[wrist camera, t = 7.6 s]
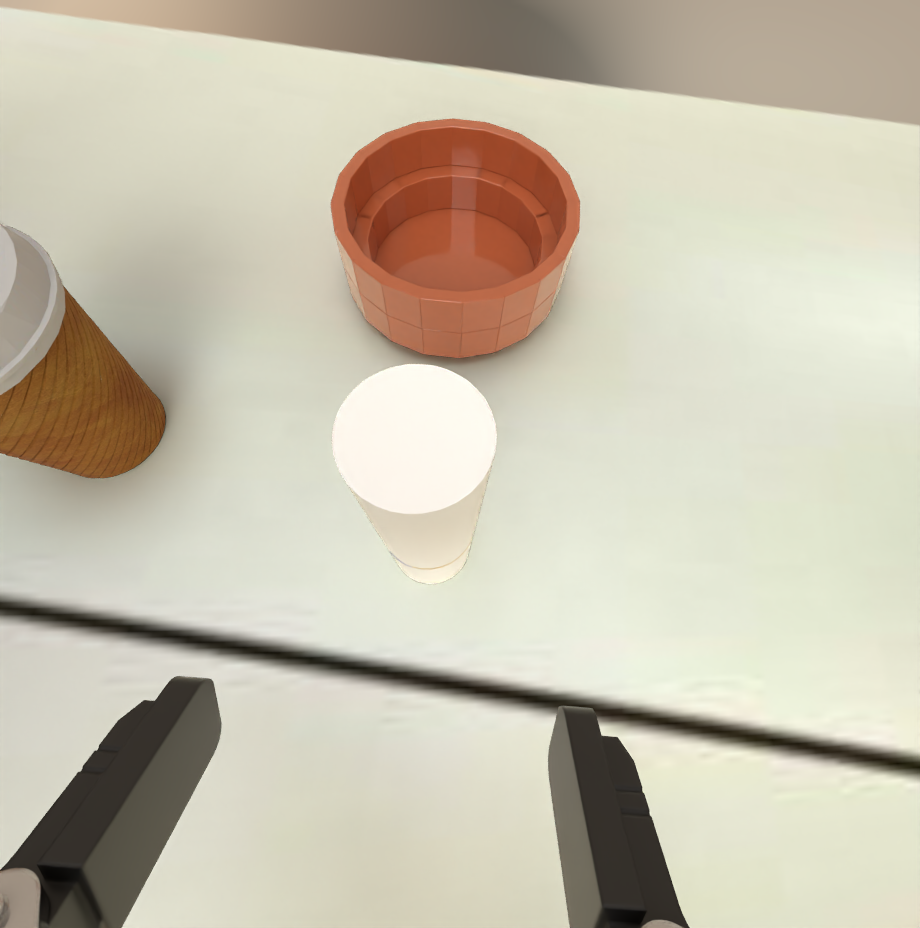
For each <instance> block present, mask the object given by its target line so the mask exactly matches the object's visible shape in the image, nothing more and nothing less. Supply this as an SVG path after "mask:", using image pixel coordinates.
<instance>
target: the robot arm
mask: <svg viewBox="0 0 920 928" xmlns="http://www.w3.org/2000/svg"><path fill="white" fill-rule="evenodd" d="M220 734H221V718H220V713H219V708H218V703H217V698H216V693H215V687H214V683H213V681H212V680H211V679H208V678H196V677H184V676H176V677H174V678H173V679H171V680H170V681H169V683H168V684H167V685H166V686H165V688H164V689H163V691H162V692H161V693H160V695H159V696H158V697H157V699H156V700H155V701H148V700H144V701H142V702H141V703H140V704H139V705H137V706H136V707H135V708H134V709H132V710H131V711H130V712H129V713H127V714H126V715H125V716H123V717H122V718H121V719H120V720H118V722H117V723H116V724H115V725H114V727H113V728H112V729H111V731H110V732H109V733H108V735H107V736H106V737H105V738H104V740H103V741H102V742H101V744H100V745H99V748H98V750H97V751H94V753H93V754H92V755H91V756H90V758H89V759H88V760H87V762H86V763H85V764H84V765H83V769H82V771H81V772H78V773H77V774H76V776H75V777H74V778H73V780H72V781H71V782H70V783H69V785H68V786H67V787H66V789H65V790H64V791H63V792H62V794H61V795H60V796H59V798H58V799H57V800H56V802H55V803H54V804H53V805H52V807H51V808H50V809H49V811H48V812H47V813H46V814H45V816H44V817H43V818H42V820H41V821H40V822H39V823H38V825H37V826H36V827H35V829H34V830H33V831H32V832H31V834H30V835H29V836H28V838H27V839H26V840H25V841H24V843H23V844H22V845H21V847H20V848H19V849H18V850H17V852H16V853H15V854H14V855H13V857H12V858H11V859H10V860H9V861H8V863H7V864H6V865H5V866H4V867H3V868H2V869H1V870H0V928H122V926H123V924H124V922H125V920H126V918H127V916H128V914H129V913H130V911H131V909H132V907H133V905H134V903H135V901H136V899H137V897H138V896H139V894H140V892H141V890H142V888H143V886H144V884H145V882H146V881H147V879H148V877H149V875H150V873H151V871H152V869H153V867H154V865H155V864H156V862H157V860H158V858H159V856H160V854H161V852H162V850H163V849H164V847H165V845H166V843H167V841H168V839H169V837H170V835H171V833H172V832H173V830H174V828H175V826H176V824H177V822H178V820H179V818H180V816H181V815H182V813H183V811H184V809H185V807H186V805H187V803H188V801H189V800H190V798H191V796H192V794H193V792H194V790H195V788H196V786H197V784H198V783H199V781H200V779H201V777H202V775H203V773H204V771H205V769H206V768H207V766H208V764H209V762H210V760H211V758H212V756H213V754H214V752H215V750H216V748H217V745H218V742H219V738H220ZM548 771H549V781H550V789H551V796H552V803H553V810H554V817H555V824H556V831H557V839H558V846H559V853H560V860H561V867H562V874H563V881H564V889H565V896H566V903H567V910H568V917H569V924H570V928H689V926H688V924H687V922H686V920H685V918H684V916H683V914H682V911H681V909H680V906H679V903H678V900H677V897H676V893H675V890H674V887H673V884H672V881H671V878H670V874H669V871H668V868H667V865H666V862H665V858H664V855H663V852H662V849H661V846H660V843H659V839H658V836H657V833H656V830H655V827H654V823H653V820H652V817H651V816H650V814H649V807H648V804H647V801H646V798H645V795H644V793H643V792H642V785H641V782H640V779H639V776H638V772H637V769H636V766H635V763H634V760H633V759H632V757H631V756H630V755H629V753H628V752H627V750H626V749H625V747H624V746H623V744H622V743H621V742H620V740H619V739H618V737H609V736H601V732H600V729H599V725H598V721H597V717H596V714H595V712H594V710H593V709H592V708H582V707H569V706H560V707H559V708H558V712H557V716H556V721H555V725H554V729H553V734H552V738H551V742H550V747H549V755H548Z"/></svg>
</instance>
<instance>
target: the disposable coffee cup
mask: <svg viewBox="0 0 920 928" xmlns="http://www.w3.org/2000/svg"><path fill="white" fill-rule="evenodd" d="M165 417H166V416H165V411H164V407H163V405H162V403H161V401H160V400H159V399H158V397H157V396H156V395H155V394H154V393H153V392H152V391H151V390H150V388H149V387H148V386H147V385H146V384H145V383H144V381H143V380H142V379H141V378H140V376H139V375H138V374H137V373H136V372H135V371H134V369H133V368H132V367H131V366H130V365H129V363H128V362H127V361H126V359H125V358H124V357H123V356H122V355H121V354H120V353H119V351H118V350H117V349H116V348H115V347H114V346H113V344H112V343H111V342H110V341H109V340H108V338H107V337H106V336H105V335H104V334H103V332H102V331H101V330H100V329H99V328H98V326H97V325H96V324H95V323H94V322H93V320H92V319H91V318H90V317H89V316H88V315H87V314H86V312H85V311H84V310H83V309H82V307H81V306H80V305H79V304H78V303H77V302H76V300H75V299H74V298H73V297H72V296H71V295H70V293H69V292H68V291H67V290H66V288H65V287H64V286H63V285H62V281H61V279H60V277H59V274H58V272H57V270H56V268H55V266H54V264H53V262H52V260H51V258H50V256H49V254H48V253H47V252H46V251H45V250H44V248H43V247H42V246H41V245H40V244H38V243H37V242H36V241H35V240H34V239H32V238H31V237H30V236H29V235H27V234H25V233H23V232H21V231H19V230H17V229H15V228H13V227H9V226H5V225H2V224H0V453H2V454H6V455H8V456H12V457H18V458H19V459H22V460H28V461H29V462H34V463H38V464H40V465H45V466H49V467H51V468H56V469H60V470H63V471H67V472H70V473H73V474H77V475H80V476H83V477H88V478H107V477H113V476H116V475H119V474H122V473H125V472H127V471H129V470H131V469H133V468H134V467H136V466H137V465H139V464H140V463H141V462H143V461H144V460H145V459H146V458H147V457H148V456H149V455H150V454H151V453H152V452H153V451H154V449H155V448H156V447H157V445H158V444H159V441H160V439H161V437H162V435H163V432H164V427H165Z"/></svg>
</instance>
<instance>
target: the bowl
mask: <svg viewBox="0 0 920 928" xmlns="http://www.w3.org/2000/svg"><path fill="white" fill-rule="evenodd" d="M331 212H332V218H333V225H334V232H335V236H336V240H337V243H338V247H339V251H340V254H341V258H342V262H343V265H344V269H345V273H346V276H347V280H348V284H349V288H350V291H351V295H352V297H353V299H354V300H355V302H356V304H357V305H358V307H359V309H360V310H361V312H362V314H363V315H364V317H365V319H366V320H367V321H368V322H369V323H370V324H371V325H372V326H374V327H375V328H376V329H377V330H379V331H380V332H381V333H382V334H383V335H385V336H386V337H387V338H388V339H390V340H391V341H392V342H395V343H397V344H400V345H402V346H405V347H407V348H409V349H412V350H414V351H417V352H419V353H422V354H426V355H435V356H444V357H453V358H464V357H470V356H477V355H483V354H489V353H494V352H497V351H499V350H501V349H504V348H506V347H508V346H510V345H512V344H514V343H516V342H518V341H520V340H522V339H524V338H526V337H527V336H528V335H529V334H530V333H531V332H532V331H533V330H534V329H535V328H536V327H538V326H539V325H540V324H541V323H542V322H543V321H544V320H545V319H546V318H547V316H548V315H549V313H550V311H551V308H552V306H553V304H554V302H555V300H556V298H557V296H558V293H559V291H560V288H561V285H562V282H563V279H564V275H565V272H566V269H567V266H568V263H569V260H570V257H571V254H572V251H573V248H574V245H575V242H576V239H577V236H578V233H579V222H580V200H579V198H578V195H577V193H576V190H575V188H574V185H573V183H572V180H571V178H570V175H569V174H568V173H567V172H566V170H565V169H564V168H563V167H562V166H561V165H560V164H559V163H558V162H557V160H556V159H555V158H554V157H553V156H552V155H551V154H550V153H549V152H548V151H547V150H546V149H544V148H542V147H541V146H539V145H538V144H536V143H534V142H533V141H531V140H530V139H528V138H526V137H525V136H523V135H522V134H520V133H517V132H514V131H511V130H508V129H505V128H502V127H499V126H496V125H493V124H490V123H487V122H480V121H470V120H461V119H443V120H434V121H425V122H417V123H413V124H410V125H408V126H405V127H402V128H399V129H396V130H393V131H390V132H387V133H385V134H383V135H381V136H380V137H378V138H377V139H375V140H374V141H372V142H371V143H369V144H368V145H366V146H365V147H363V148H362V149H360V150H359V151H358V152H357V153H356V154H355V155H354V156H353V158H352V159H351V160H350V161H349V163H348V164H347V165H346V167H345V168H344V169H343V170H342V172H341V173H340V174H339V176H338V180H337V183H336V187H335V190H334V193H333V197H332V200H331Z"/></svg>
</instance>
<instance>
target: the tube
mask: <svg viewBox="0 0 920 928" xmlns="http://www.w3.org/2000/svg"><path fill="white" fill-rule="evenodd" d="M496 443H497V434H496V424H495V421H494V417H493V414H492V411H491V409H490V407H489V405H488V403H487V401H486V400H485V398H484V397H483V395H482V394H481V393H480V392H479V391H478V390H477V388H476V387H475V386H474V385H472V384H471V383H470V382H469V381H467V380H466V379H465V378H463V377H462V376H460V375H458V374H456V373H454V372H452V371H450V370H447V369H444V368H441V367H438V366H433V365H427V364H405V365H400V366H394V367H391V368H388V369H385V370H382V371H380V372H377V373H375V374H374V375H372V376H370V377H369V378H367V379H365V380H364V381H363V382H361V383H360V384H359V385H358V386H357V387H356V388H355V389H353V390H352V391H351V393H350V394H349V395H348V397H347V398H346V399H345V400H344V402H343V403H342V405H341V407H340V409H339V411H338V413H337V415H336V419H335V422H334V426H333V433H332V448H333V455H334V459H335V462H336V464H337V467H338V470H339V472H340V474H341V476H342V477H343V479H344V480H345V482H346V483H347V485H348V487H349V488H350V490H351V491H352V493H353V495H354V496H355V498H356V499H357V501H358V503H359V504H360V506H361V507H362V509H363V510H364V512H365V514H366V515H367V517H368V518H369V520H370V522H371V523H372V525H373V526H374V528H375V529H376V531H377V533H378V534H379V536H380V537H381V539H382V541H383V542H384V544H385V545H386V547H387V548H388V550H389V551H390V553H391V555H392V556H393V558H394V559H395V561H396V562H397V564H398V566H399V567H400V568H401V570H402V571H403V572H404V573H405V574H406V575H407V576H408V577H410V578H411V579H413V580H415V581H418V582H420V583H425V584H437V583H441V582H444V581H447V580H449V579H451V578H452V577H454V576H455V575H456V574H457V573H458V572H459V571H460V570H461V569H462V568H463V566H464V564H465V562H466V560H467V558H468V555H469V551H470V547H471V543H472V539H473V536H474V532H475V528H476V524H477V520H478V516H479V513H480V509H481V505H482V501H483V497H484V494H485V490H486V486H487V482H488V478H489V475H490V471H491V467H492V463H493V459H494V455H495V450H496Z"/></svg>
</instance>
